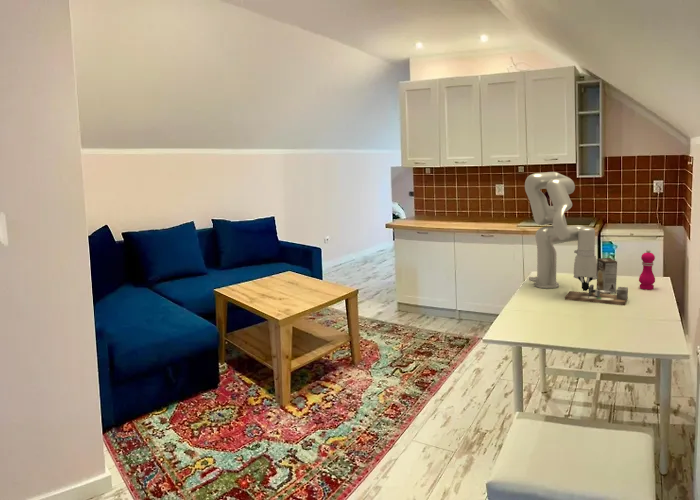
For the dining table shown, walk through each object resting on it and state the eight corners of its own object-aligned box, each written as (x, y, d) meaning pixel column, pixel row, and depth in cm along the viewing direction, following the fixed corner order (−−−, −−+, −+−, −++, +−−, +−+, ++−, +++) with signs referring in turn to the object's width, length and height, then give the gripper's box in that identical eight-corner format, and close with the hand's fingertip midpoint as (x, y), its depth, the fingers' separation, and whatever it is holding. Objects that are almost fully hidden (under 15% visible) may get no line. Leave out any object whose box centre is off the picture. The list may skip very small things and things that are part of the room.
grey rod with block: (587, 296, 260) (588, 288, 259) (590, 292, 266) (590, 284, 265) (609, 298, 255) (609, 290, 254) (611, 294, 261) (611, 286, 261)
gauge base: (565, 299, 264) (565, 287, 263) (569, 293, 273) (569, 282, 272) (624, 305, 250) (625, 292, 249) (627, 299, 259) (628, 287, 258)
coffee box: (595, 289, 279) (596, 258, 276) (608, 288, 279) (609, 257, 276) (603, 293, 270) (604, 261, 267) (616, 293, 270) (617, 261, 267)
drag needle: (596, 297, 256) (596, 291, 255) (597, 296, 258) (597, 290, 258) (598, 298, 255) (599, 291, 255) (599, 296, 258) (600, 290, 257)
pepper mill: (654, 287, 277) (656, 248, 273) (655, 290, 271) (657, 251, 267) (638, 286, 280) (639, 247, 276) (638, 289, 274) (640, 250, 270)
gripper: (567, 253, 262) (567, 290, 265) (601, 255, 254) (600, 293, 257) (571, 251, 268) (570, 287, 271) (604, 252, 260) (603, 289, 263)
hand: (585, 290), depth 264 cm, fingers closed
